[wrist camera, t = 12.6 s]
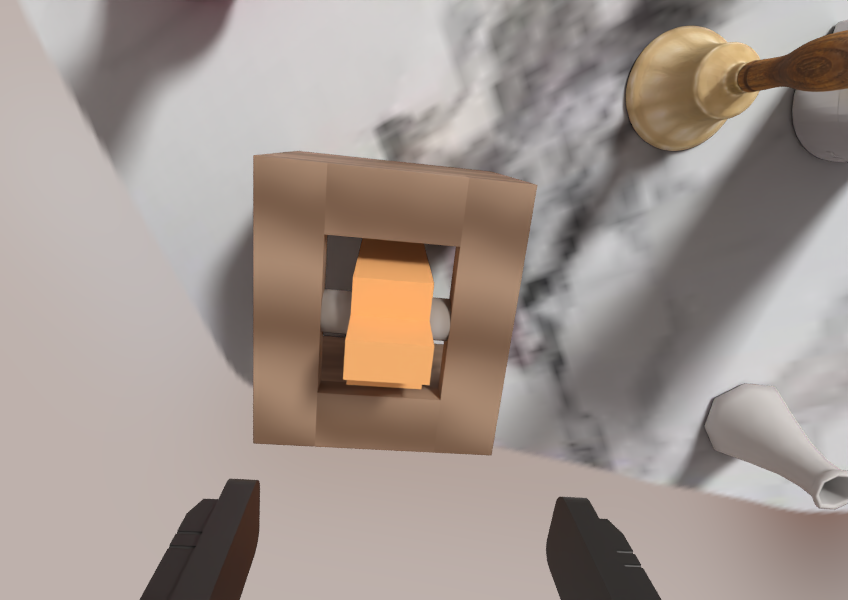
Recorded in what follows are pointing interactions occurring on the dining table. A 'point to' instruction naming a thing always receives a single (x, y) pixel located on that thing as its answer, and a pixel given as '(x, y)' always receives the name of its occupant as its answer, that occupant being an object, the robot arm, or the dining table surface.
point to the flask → (774, 442)
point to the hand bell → (718, 82)
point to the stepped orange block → (390, 317)
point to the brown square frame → (331, 309)
